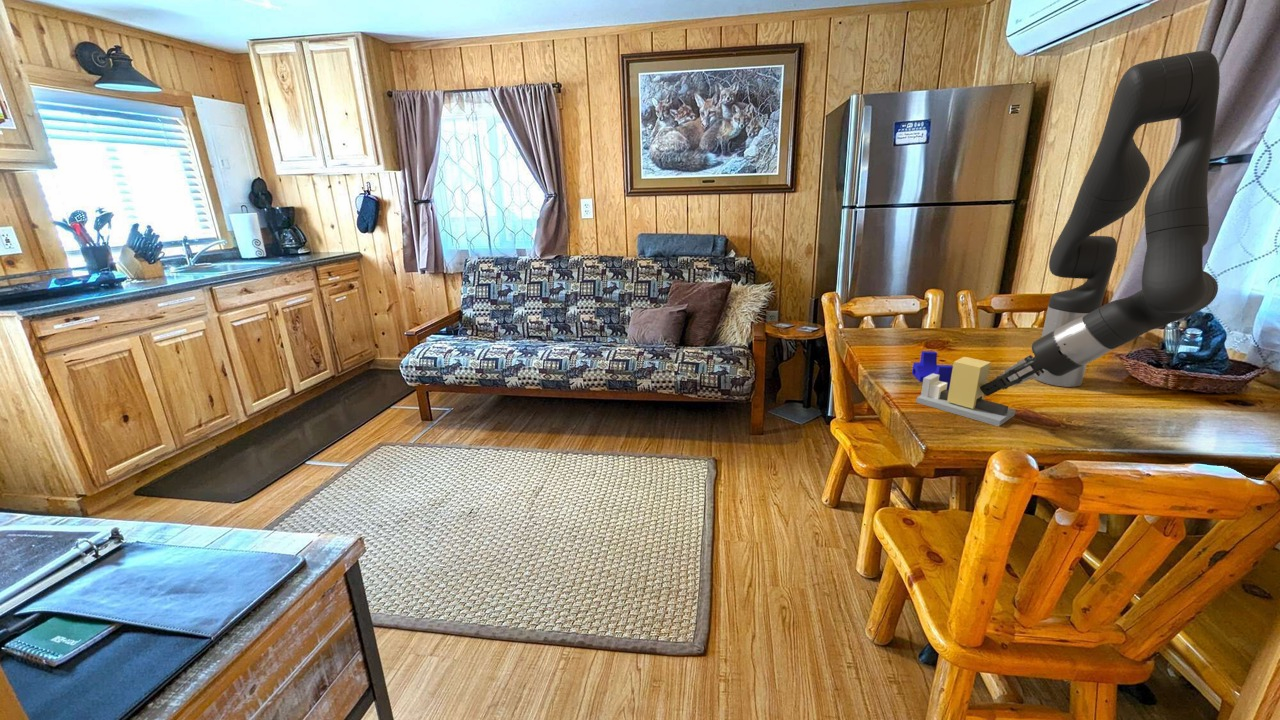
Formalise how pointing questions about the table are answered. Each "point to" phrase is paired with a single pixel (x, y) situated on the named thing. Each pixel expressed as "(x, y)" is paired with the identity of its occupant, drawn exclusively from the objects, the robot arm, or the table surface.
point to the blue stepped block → (932, 368)
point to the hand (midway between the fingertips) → (984, 391)
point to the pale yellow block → (968, 381)
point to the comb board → (937, 398)
